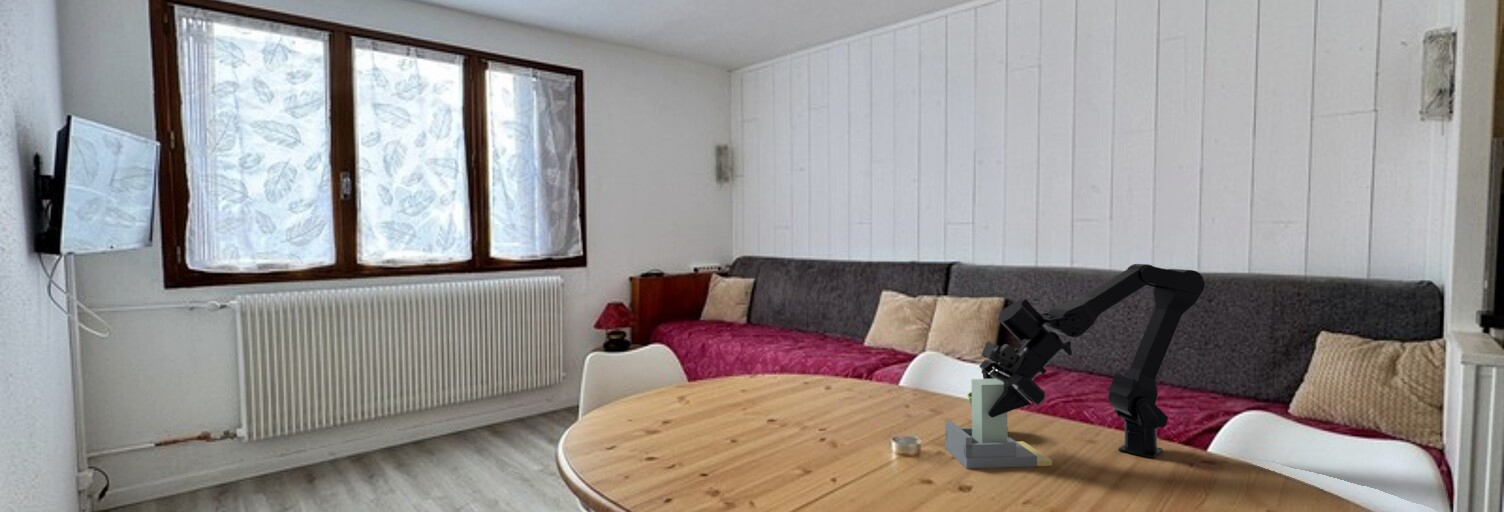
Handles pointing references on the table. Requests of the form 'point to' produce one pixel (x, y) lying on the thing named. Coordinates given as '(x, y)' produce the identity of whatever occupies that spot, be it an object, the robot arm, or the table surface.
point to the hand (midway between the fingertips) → (982, 410)
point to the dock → (990, 451)
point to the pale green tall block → (982, 402)
